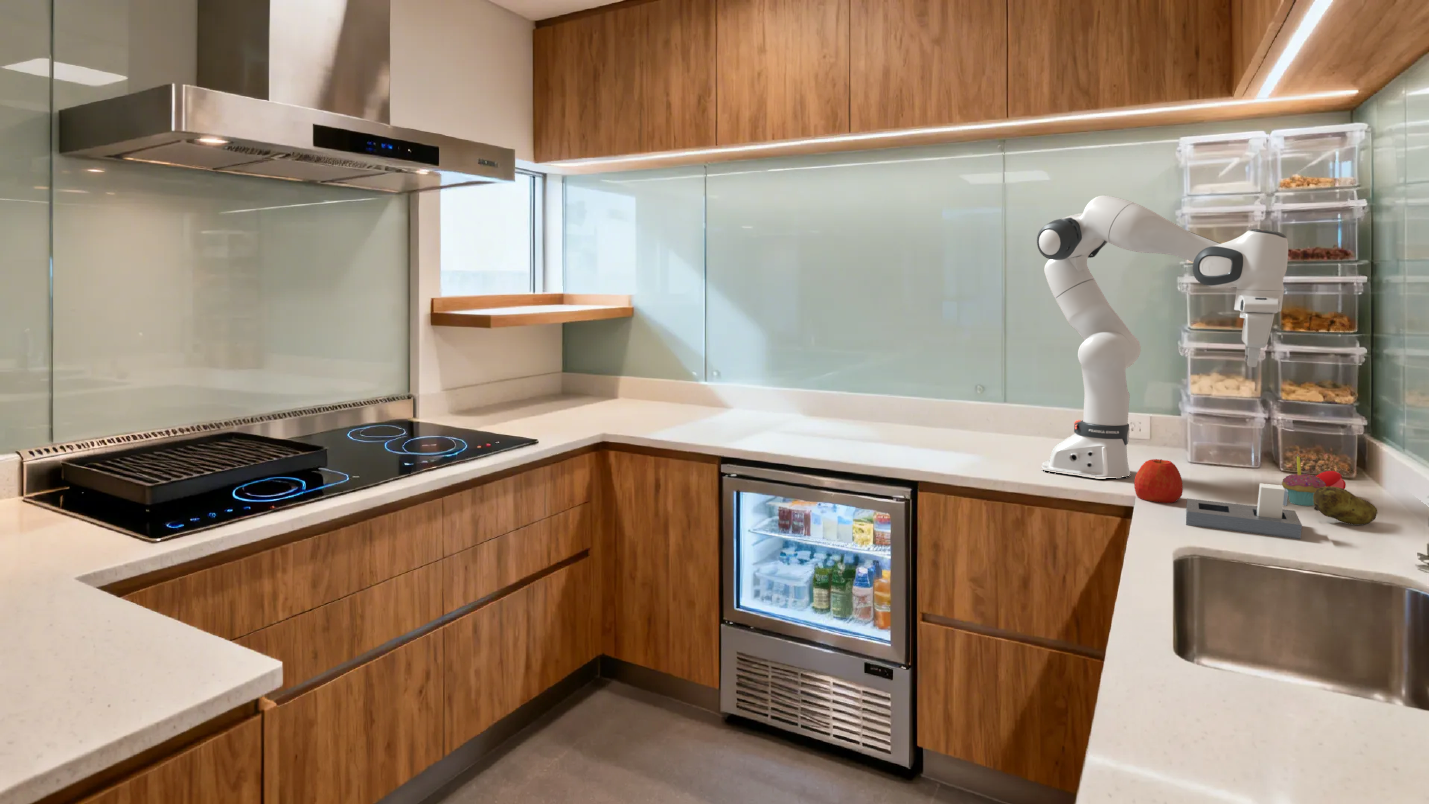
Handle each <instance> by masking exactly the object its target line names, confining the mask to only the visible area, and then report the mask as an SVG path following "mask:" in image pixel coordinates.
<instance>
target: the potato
mask: <svg viewBox="0 0 1429 804" xmlns="http://www.w3.org/2000/svg"><path fill="white" fill-rule="evenodd" d="M1313 502H1314V505H1313V506H1314V508H1313V509H1314V511H1316V512H1319V513H1321V514H1322V515H1324V516H1326V517H1327V518H1331V519H1334V520H1336V521H1338V522H1341V523H1342V524H1343V523H1344V524H1346V525H1351V524H1353V526H1362V524H1363V525H1366V524H1369V523H1370V524H1371V523H1372V522H1374V520H1376V518H1377V515H1378V509H1377V507H1376V506H1375V505H1374V504H1373V503H1371V502H1370V501H1367V500H1366V499H1363V498H1360V497H1357V496H1356V495H1355V494H1353V493H1352V492H1350V491H1349V490H1347V489H1342V488H1339V487H1330V486H1328V487H1323V488H1320V489H1317V490H1316V491H1315V493H1314V494H1313Z"/></svg>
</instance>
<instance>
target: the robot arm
mask: <svg viewBox="0 0 1429 804" xmlns="http://www.w3.org/2000/svg"><path fill="white" fill-rule="evenodd" d="M1108 243H1109V244H1111V245H1113V246H1115V247H1117V248H1120V249H1123V250H1127V251H1130V252H1135V253H1141V254H1142V253H1143V254H1161V255H1170V256H1175V257H1178V258H1182V259H1184V260H1187V261H1188V262H1189V261H1190V262H1192V274H1193V276H1194V278H1195V279H1196V281H1197V282H1198V283H1199V284H1201V285H1202V286H1207V287H1210V288H1231V289H1236V292H1235V299H1234V307H1233V310H1234V311H1239V312H1240V313H1239V318H1240V319H1243V324H1242V331H1241V341H1242V342H1243V344H1244V355H1245V356H1244V360H1243V361H1244V363H1246V364H1247V367H1248V368H1256V367H1258V361H1259V357H1260V354H1261V349H1263V348H1266V347H1267V344H1268V342H1269V339H1270V334H1271V330H1272V327H1273V322H1274V318H1275V314H1277V313H1280V312H1282V307H1283V301H1284V292H1285V287H1284V278H1285V275H1286V273H1287V269H1288V260H1289V241H1288V238H1287V237H1286V235H1285V234H1283V233H1282V232H1278V231H1274V230H1266V229H1258V228H1252V229H1249V230H1247V231H1246V232H1244V233H1243V234H1241V235H1240V236H1238V237H1236V238H1233V239H1231V240H1228V241H1226V242H1223V243H1220V242H1218V241H1215V240H1213V239H1211V238H1208V237H1205V236H1202V235H1200V234H1196V233H1194V232H1193V231H1190V230H1187V229H1185V228H1183V227H1181V226H1179V225H1178V224H1176V223H1174V222H1172V221H1170V220H1168V219H1166V218H1165V217H1164V216H1162V215H1160V214H1158V213H1157V212H1154V211H1153V210H1151V209H1149V208H1148V207H1145V206H1143V205H1141V204H1138V203H1136V202H1134V201H1130V200H1127V199H1124V198H1121V197H1117V196H1111V195H1106V194H1103V195H1099V196H1098V195H1097V196H1096V197H1094V198H1092V199H1091V200H1089V202H1088V203H1087V204H1086V206H1085V207H1084V209H1083V212H1080V213H1075V214H1071V215H1068V216H1066V217H1065V216H1064V217H1063V218H1059V219H1055V220H1052V221H1050V222H1048V223H1046V224H1045V225H1044V226H1043V227H1041V228H1040V230H1039V231H1038V234H1037V235H1036V246H1037V249H1038V251H1039V253H1040V254H1041V255H1042V256H1043V257H1044V258H1045V259H1048V260H1047V262H1046V263H1045V264H1044V270H1043V272H1044V275H1045V278H1046V282H1047V285H1048V288H1049V289H1050V292H1051V294H1052V296H1053V297H1054V299H1055V302H1056V304H1057V305H1058V307H1059V308H1060V311H1061V312H1062V315H1063V316H1064V317H1065V319H1066V321H1067V323H1068V324H1069V326H1070V327H1072V328H1073V329H1074V330H1075V331H1076V332H1077V333H1078V334H1079V335H1080V337H1081V338H1082V339H1083V340H1084V341H1082V343H1081V344H1080V345H1079V348H1078V350H1077V359H1078V362H1079V363H1080V366H1081V376H1082V382H1083V391H1084V392H1083V394H1084V396H1083V397H1084V398H1083V399H1084V401H1083V415H1082V420H1081V419H1076V420H1075V421H1074V422H1073V425H1074V426H1073V428H1074V429H1073V433H1072V434H1071V435H1070V436H1067V438H1064V439H1063V440H1062V441H1060V442H1059V443H1057V444H1056V445H1055V446H1054V447H1053V449H1051V450H1052V451H1051V453H1050V457H1049V459H1048V460H1045V461H1043V462H1042V463H1041V467H1042V468H1043V469H1046V470H1050V471H1056V472H1067V473H1073V474H1079V475H1091V476H1095V477H1122V476H1128V475H1130V474H1131V471H1130V466H1129V460H1128V458H1129V457H1128V444H1129V439H1130V423H1129V412H1130V411H1129V410H1130V393H1129V390H1128V385H1127V374H1126V369H1128V368H1130V367H1132V366H1133V365H1134V364H1135V362H1136V361H1137V360H1138V358H1139V357H1140V355H1141V351H1142V350H1141V347H1142V346H1141V344H1140V341H1139V340H1138V338H1137V337H1136V336H1135V335H1134V334H1133V333H1132V332H1131V331H1130V329H1129V328H1128V326H1127V325H1126V324H1125V323H1124V321H1123V320H1122V319H1121V317H1120V316H1119V315H1118V314H1117V313H1116V312H1115V310H1114V309H1113V308H1112V306H1111V305H1110V303H1109V302H1108V300H1107V298H1106V296H1105V295H1104V294H1103V292H1102V290H1101V288H1100V286H1099V284H1098V282H1097V281H1096V279H1095V278H1094V276H1093V274H1092V273H1091V270H1090V269H1089V267H1088V259H1091V258H1095V257H1096V256H1097V255H1098V253H1099V252H1100V250H1101V249H1102V248H1104V247H1105V246H1106V245H1107V244H1108ZM1041 467H1040V468H1041ZM1130 476H1131V475H1130Z"/></svg>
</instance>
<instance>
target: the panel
mask: <svg viewBox="0 0 1429 804" xmlns="http://www.w3.org/2000/svg"><path fill="white" fill-rule="evenodd" d="M1185 506H1186V507H1185V525H1186V526H1191V527H1198V528H1207V529H1213V530H1214V529H1215V530H1222V531H1231V532H1237V533H1247V534H1253V535H1261V536H1267V537H1268V536H1270V537H1277V538H1286V539H1293V540H1299V541H1300V540H1301V538H1302V536H1301V535H1302V528H1303V527H1302V526H1303V524H1302V522H1301V520H1300V518H1299V516H1298V514H1297V511H1296V510H1293V509H1292V510H1291V509H1285V508H1283V510H1282V519H1279V518H1270V517H1262V516H1257V506H1258V505H1257V506H1255V505H1250V504H1249V505H1248V504H1240V503H1232V502H1231V503H1230V502H1222V501H1213V500H1205V499H1204V500H1203V499H1195V498H1186V505H1185Z"/></svg>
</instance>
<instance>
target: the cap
mask: <svg viewBox="0 0 1429 804" xmlns="http://www.w3.org/2000/svg"><path fill="white" fill-rule="evenodd" d="M1315 476H1316V477H1318V478H1320V479H1321V480H1322V481H1324V482H1325V484H1326V485H1325V486H1326V487H1328V486H1330V487H1339V488H1342V489H1345V488H1346V487H1347V485H1346V481H1345V480H1344V479H1343V475H1342V474H1341V473H1339V472H1337V471H1334V470H1327V471H1323V472H1320V473H1319V474H1317V475H1315ZM1345 490H1346V489H1345Z"/></svg>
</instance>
